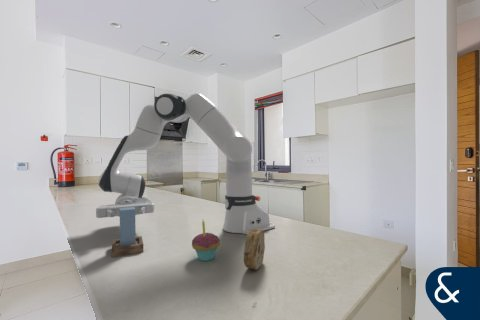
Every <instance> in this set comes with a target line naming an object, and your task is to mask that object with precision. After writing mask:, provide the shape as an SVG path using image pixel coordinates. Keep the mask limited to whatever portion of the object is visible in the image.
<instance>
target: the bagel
mask: <svg viewBox="0 0 480 320" xmlns="http://www.w3.org/2000/svg"><path fill="white" fill-rule="evenodd" d="M265 243H266V242H265V232H264V231H263V230H260V229H254V230H252V231H250V232H249V233H248V234H246V236H245V242H244V250H243V264H244V266H245V267H246V268H248V269H250V270H251V269H252V270H255V271H257V270H258V269H260V268H261V266H262V265H263V262H264V257H265V251H266V250H265V249H266V247H265V246H266V244H265Z"/></svg>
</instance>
